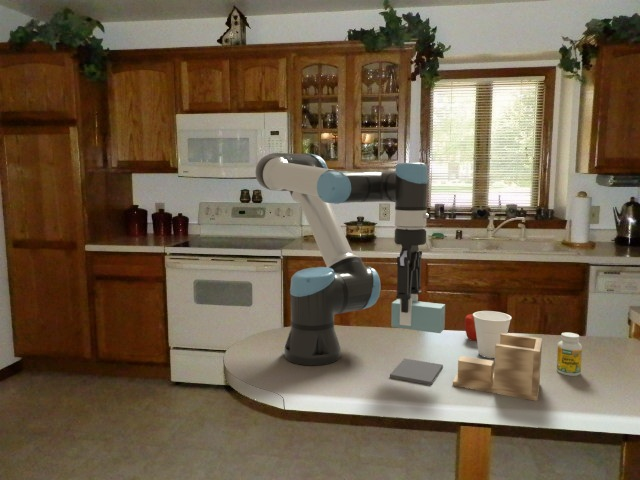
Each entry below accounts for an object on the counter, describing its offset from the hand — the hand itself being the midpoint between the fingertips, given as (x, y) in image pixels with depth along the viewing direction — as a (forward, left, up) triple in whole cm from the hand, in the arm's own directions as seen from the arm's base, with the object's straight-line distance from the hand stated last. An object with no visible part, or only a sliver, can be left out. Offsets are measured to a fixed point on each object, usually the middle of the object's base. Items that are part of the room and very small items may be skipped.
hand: (408, 321), depth 123 cm
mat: (+2, 0, -12) cm, 13 cm away
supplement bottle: (+36, +17, -13) cm, 42 cm away
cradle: (+21, +1, -13) cm, 24 cm away
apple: (+11, +33, -13) cm, 37 cm away
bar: (+2, 0, -1) cm, 3 cm away
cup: (+17, +21, -13) cm, 30 cm away
